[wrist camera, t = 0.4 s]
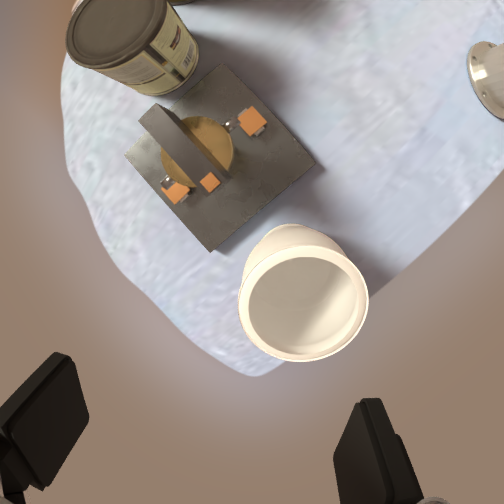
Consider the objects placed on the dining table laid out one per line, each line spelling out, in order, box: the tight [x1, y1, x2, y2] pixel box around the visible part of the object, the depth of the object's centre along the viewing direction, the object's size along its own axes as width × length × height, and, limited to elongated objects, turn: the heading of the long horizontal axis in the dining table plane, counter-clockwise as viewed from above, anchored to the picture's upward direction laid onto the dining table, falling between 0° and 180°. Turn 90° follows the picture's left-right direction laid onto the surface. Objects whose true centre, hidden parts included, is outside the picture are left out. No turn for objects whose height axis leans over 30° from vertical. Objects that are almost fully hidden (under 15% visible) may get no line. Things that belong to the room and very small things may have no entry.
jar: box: [238, 224, 369, 362], centre depth 31 cm, size 11×10×15 cm
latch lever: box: [138, 103, 241, 197], centre depth 23 cm, size 9×8×7 cm
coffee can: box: [65, 0, 199, 96], centre depth 26 cm, size 10×10×14 cm
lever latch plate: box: [124, 62, 316, 253], centre depth 31 cm, size 16×16×9 cm
